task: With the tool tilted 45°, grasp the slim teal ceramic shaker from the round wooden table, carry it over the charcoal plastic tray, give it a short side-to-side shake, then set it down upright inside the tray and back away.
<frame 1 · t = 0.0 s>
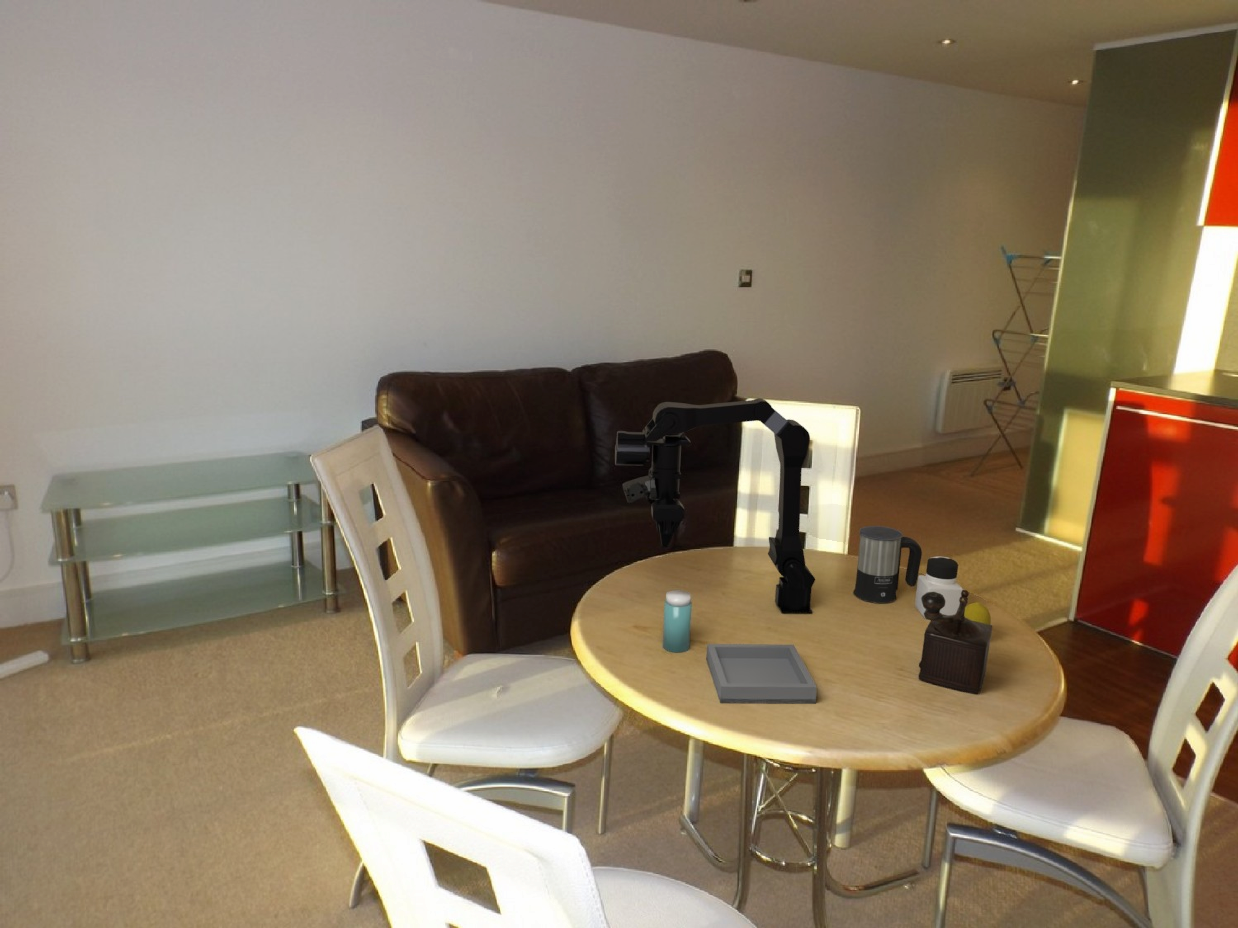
hand: (662, 539, 181), 15 cm above the table, tool pointing down, fingers open, 9 cm apart
lemon: (972, 640, 174), on the table
medicine bottle: (936, 614, 186), on the table
shaker: (675, 646, 167), on the table
tray: (758, 680, 155), on the table
milk frother: (873, 590, 198), on the table
manual coffee grinder: (948, 682, 157), on the table
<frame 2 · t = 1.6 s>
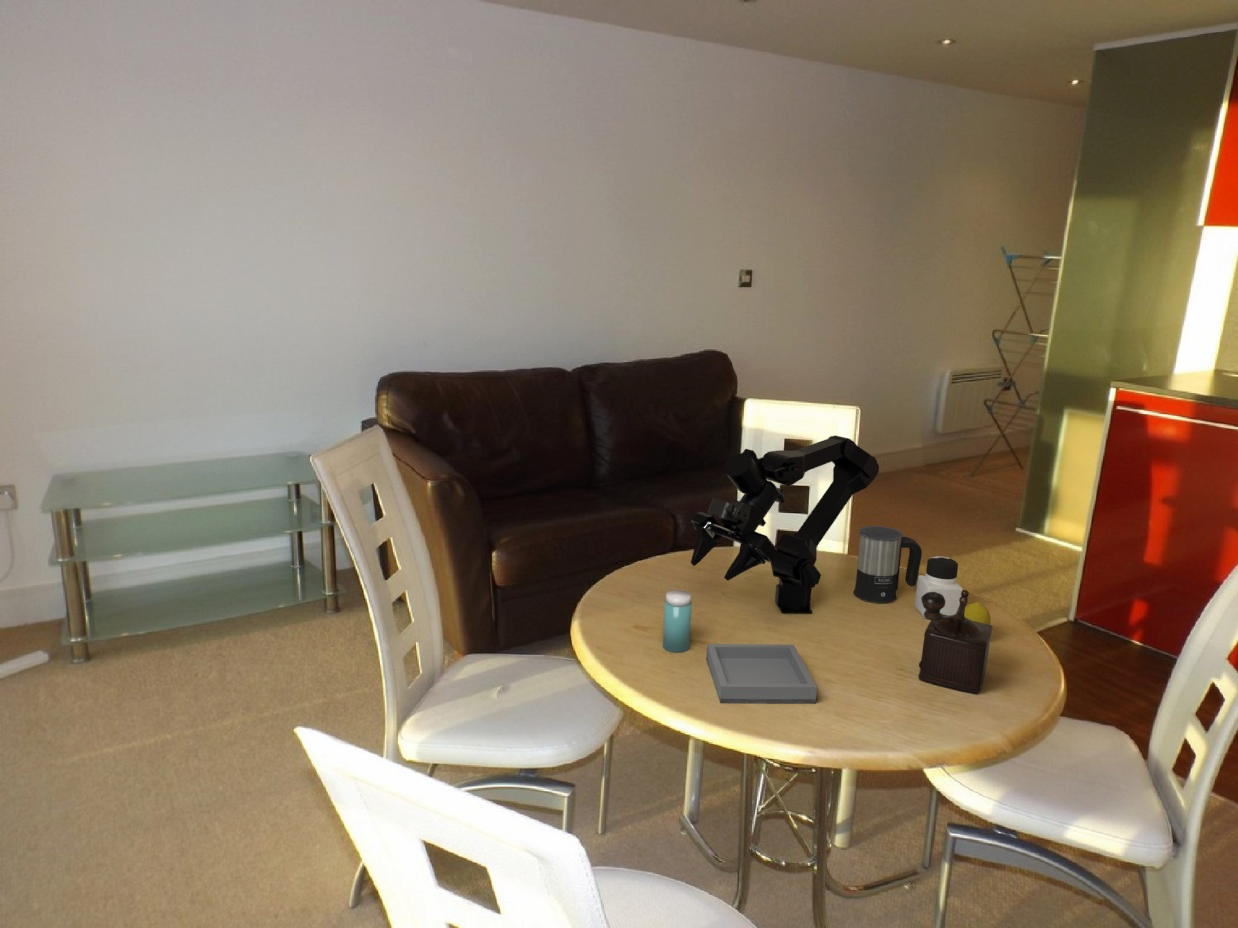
hand: (708, 571, 168), 13 cm above the table, tool tilted 45°, fingers open, 9 cm apart
nothing on the table moved.
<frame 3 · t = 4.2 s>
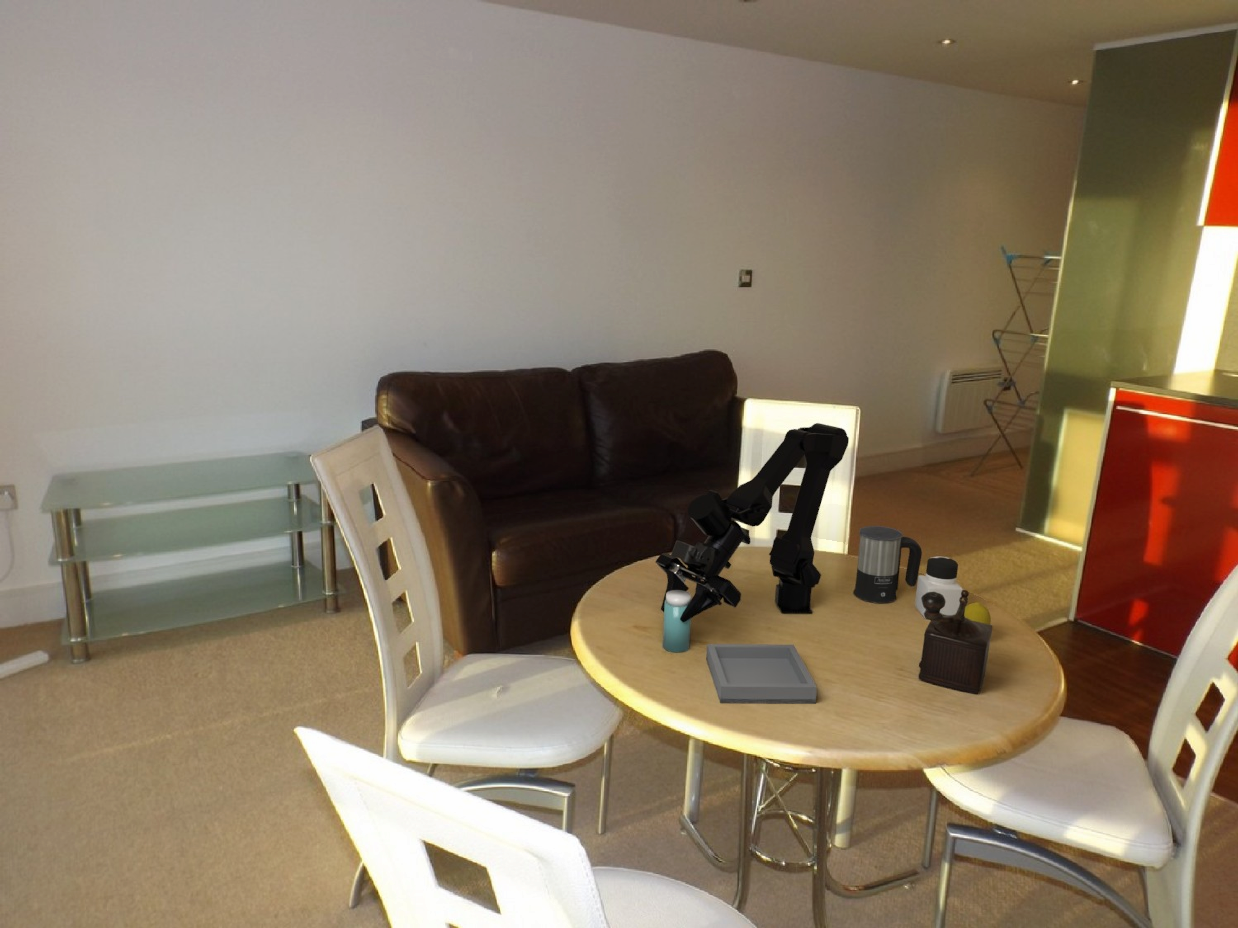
hand: (671, 615, 164), 7 cm above the table, tool tilted 45°, fingers closed on shaker, 5 cm apart
shaker: (675, 646, 167), on the table, touching gripper
everything else where it was.
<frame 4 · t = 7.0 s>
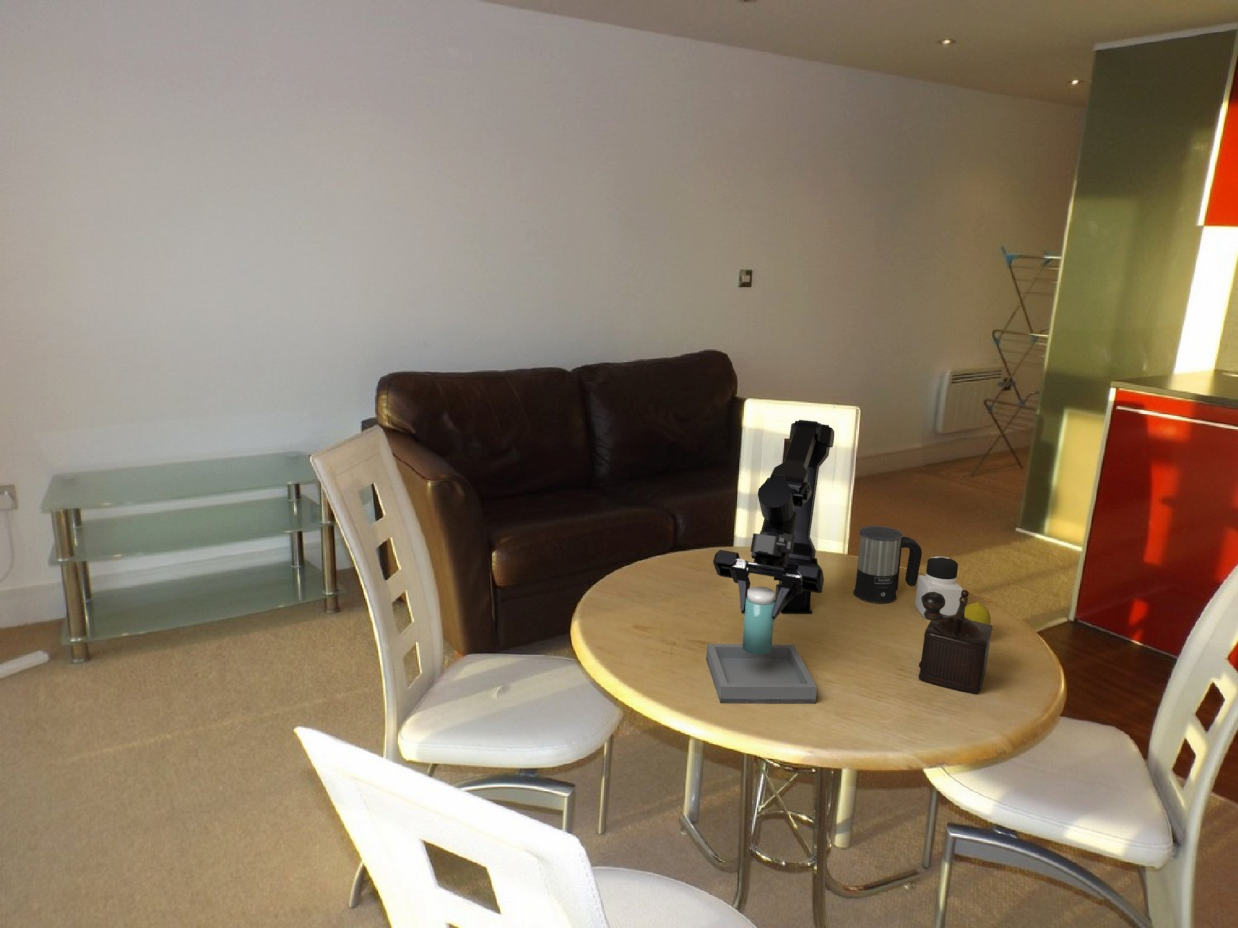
hand: (757, 615, 151), 13 cm above the table, tool tilted 45°, fingers closed on shaker, 5 cm apart
shaker: (756, 648, 154), point 6 cm above the table, touching gripper
everything else where it was.
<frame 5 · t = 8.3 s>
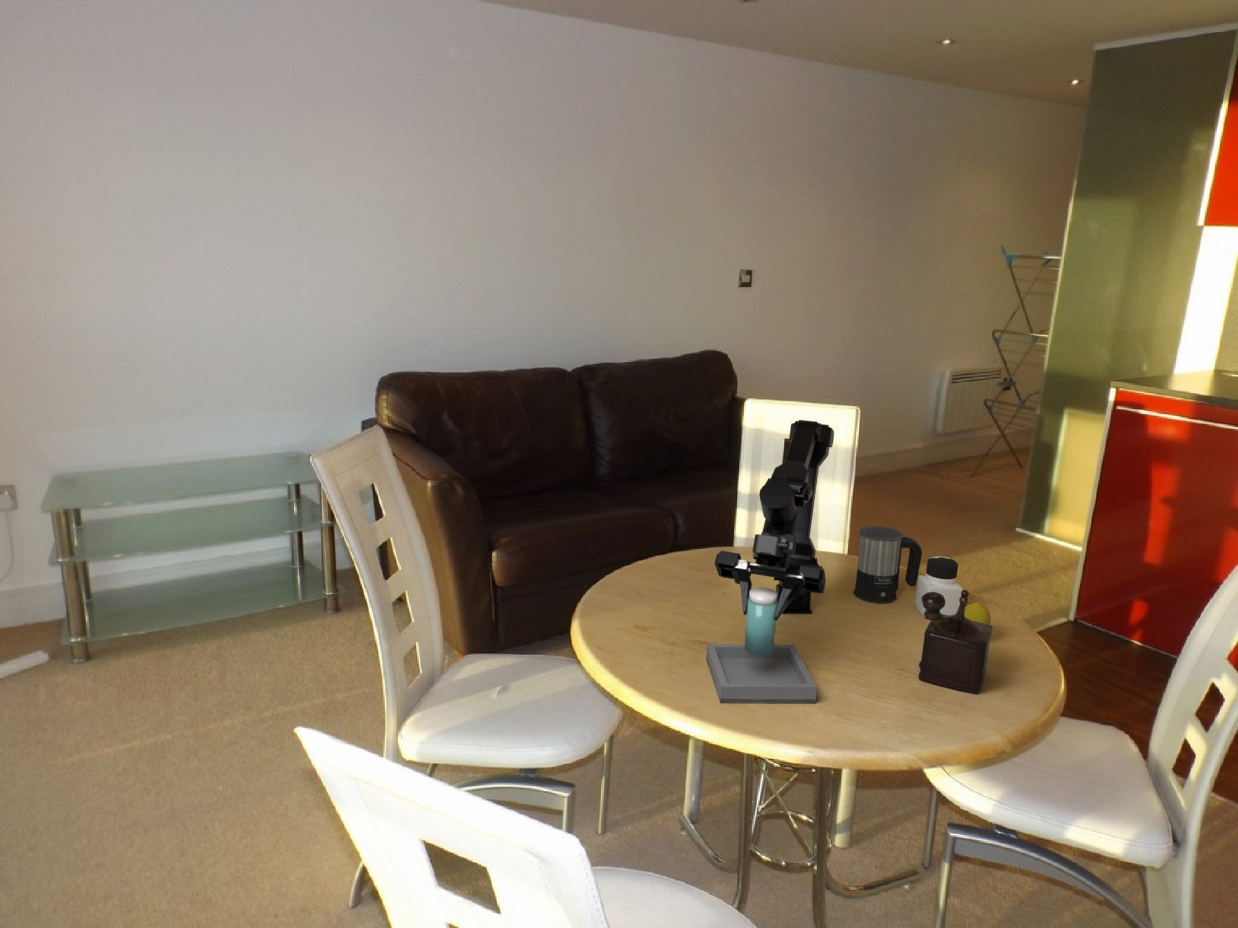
hand: (759, 616, 151), 12 cm above the table, tool tilted 45°, fingers closed on shaker, 5 cm apart
shaker: (759, 649, 153), point 6 cm above the table, touching gripper
everything else where it was.
when the fingers open (8 cm above the table, at t = 9.6 s): shaker drops 1 cm, resting on tray.
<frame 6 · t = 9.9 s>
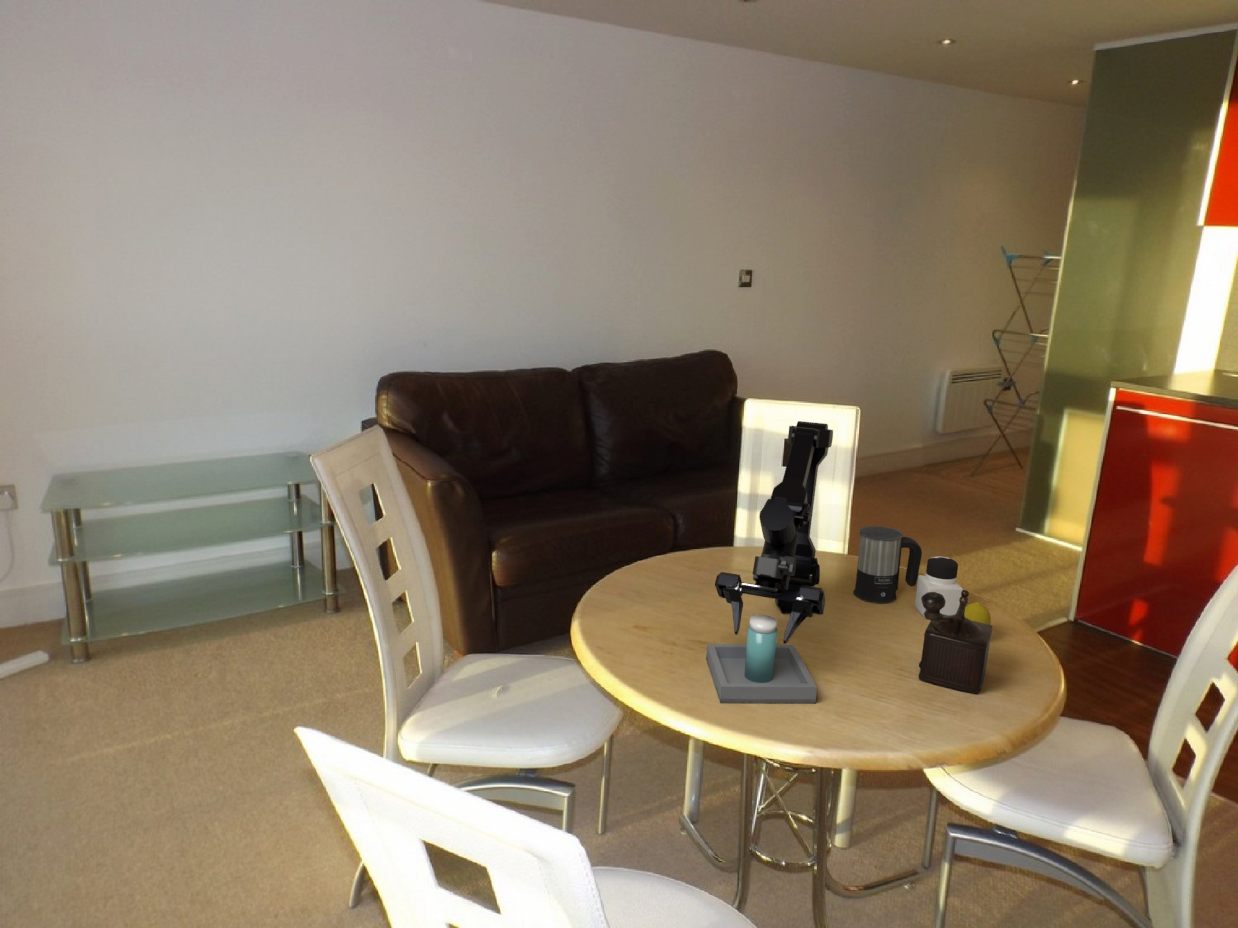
hand: (760, 638, 151), 9 cm above the table, tool tilted 45°, fingers open, 8 cm apart
shaker: (758, 675, 155), point 1 cm above the table, touching tray
everything else where it was.
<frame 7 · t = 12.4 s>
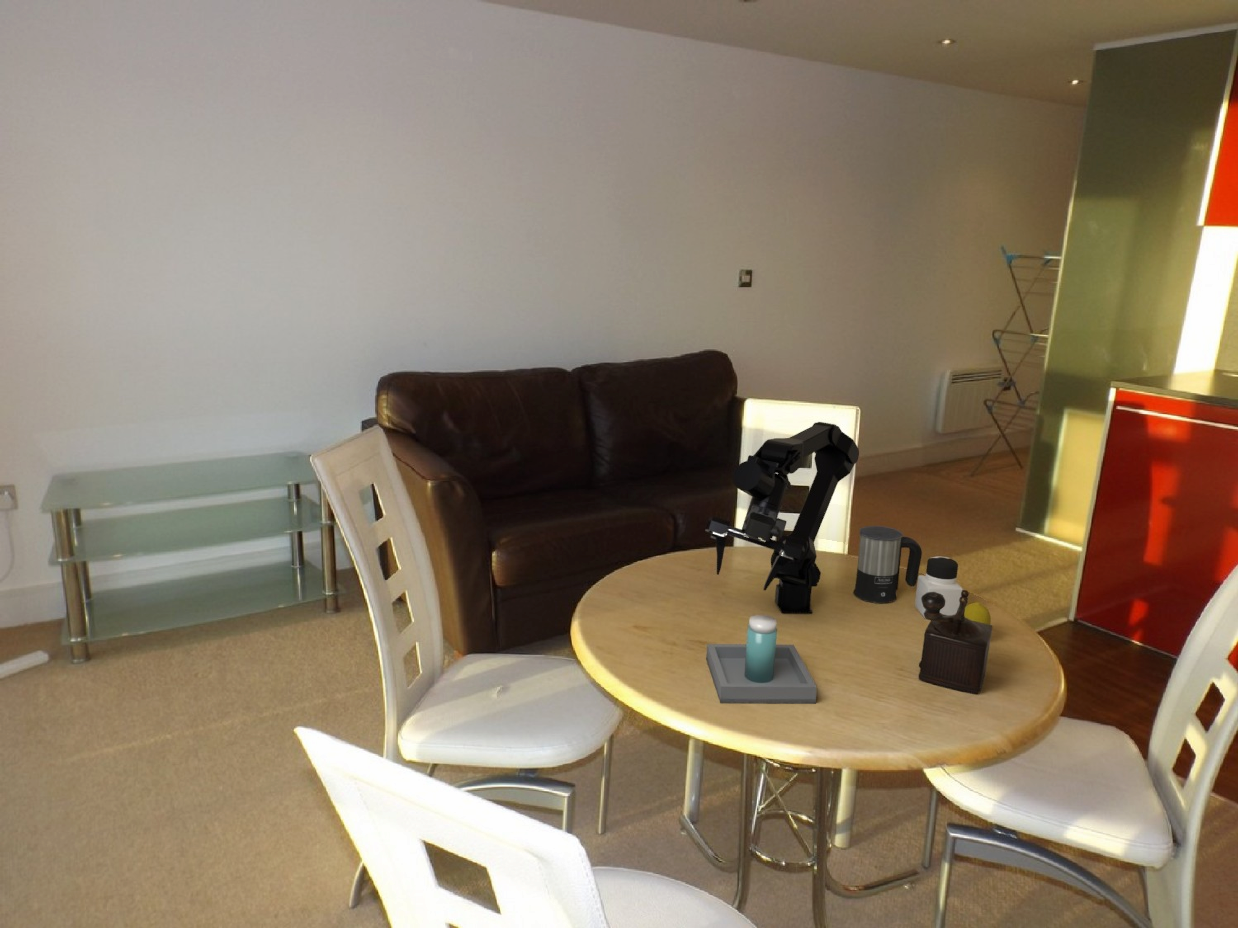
hand: (740, 582, 167), 12 cm above the table, tool tilted 25°, fingers open, 9 cm apart
nothing on the table moved.
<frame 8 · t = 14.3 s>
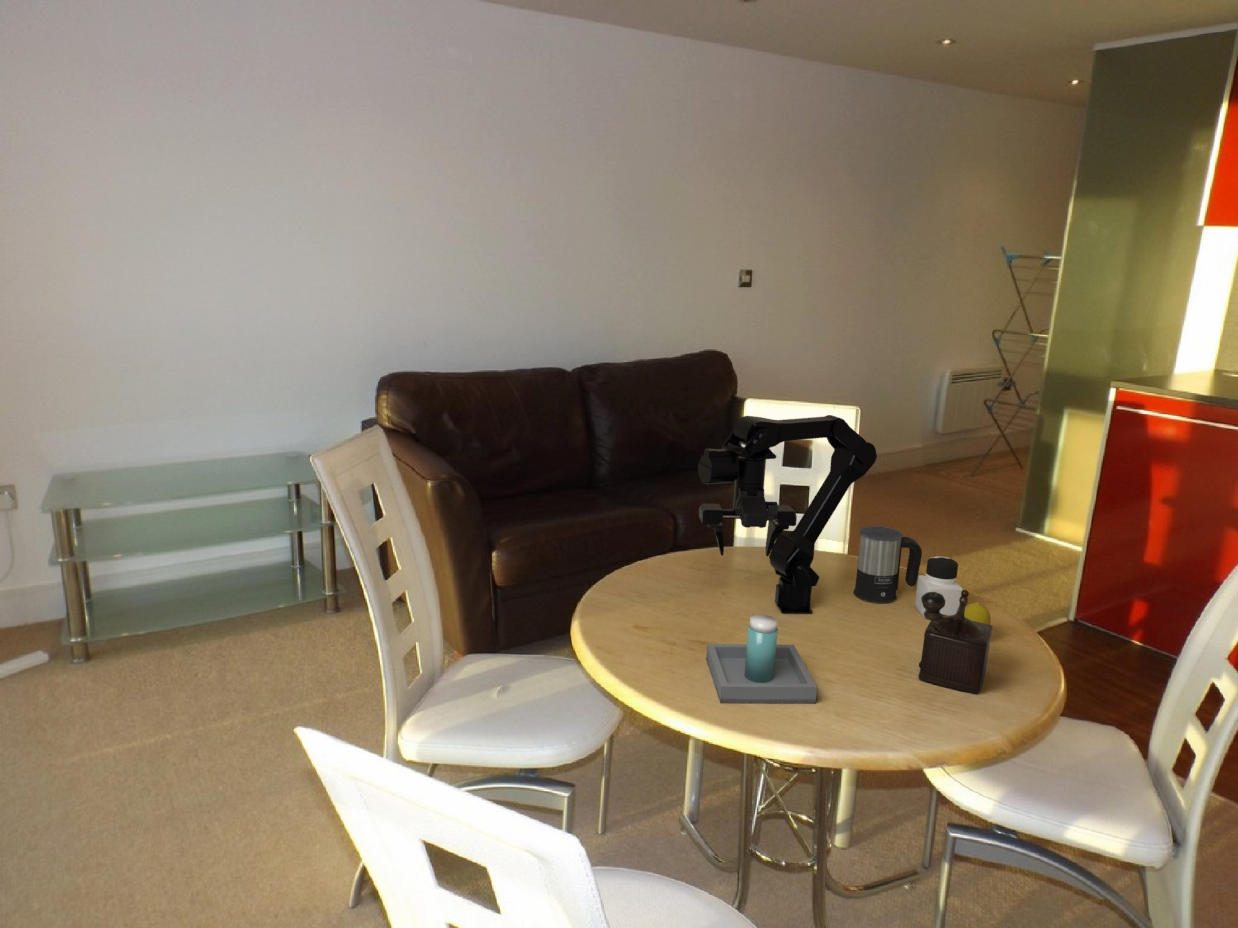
hand: (744, 555, 179), 13 cm above the table, tool pointing down, fingers open, 9 cm apart
nothing on the table moved.
at the end: shaker inside the target area on the tray (0.0 cm from its centre), point 0.8 cm above the tray's base; shaker tilted 1°; the gripper is holding nothing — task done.
